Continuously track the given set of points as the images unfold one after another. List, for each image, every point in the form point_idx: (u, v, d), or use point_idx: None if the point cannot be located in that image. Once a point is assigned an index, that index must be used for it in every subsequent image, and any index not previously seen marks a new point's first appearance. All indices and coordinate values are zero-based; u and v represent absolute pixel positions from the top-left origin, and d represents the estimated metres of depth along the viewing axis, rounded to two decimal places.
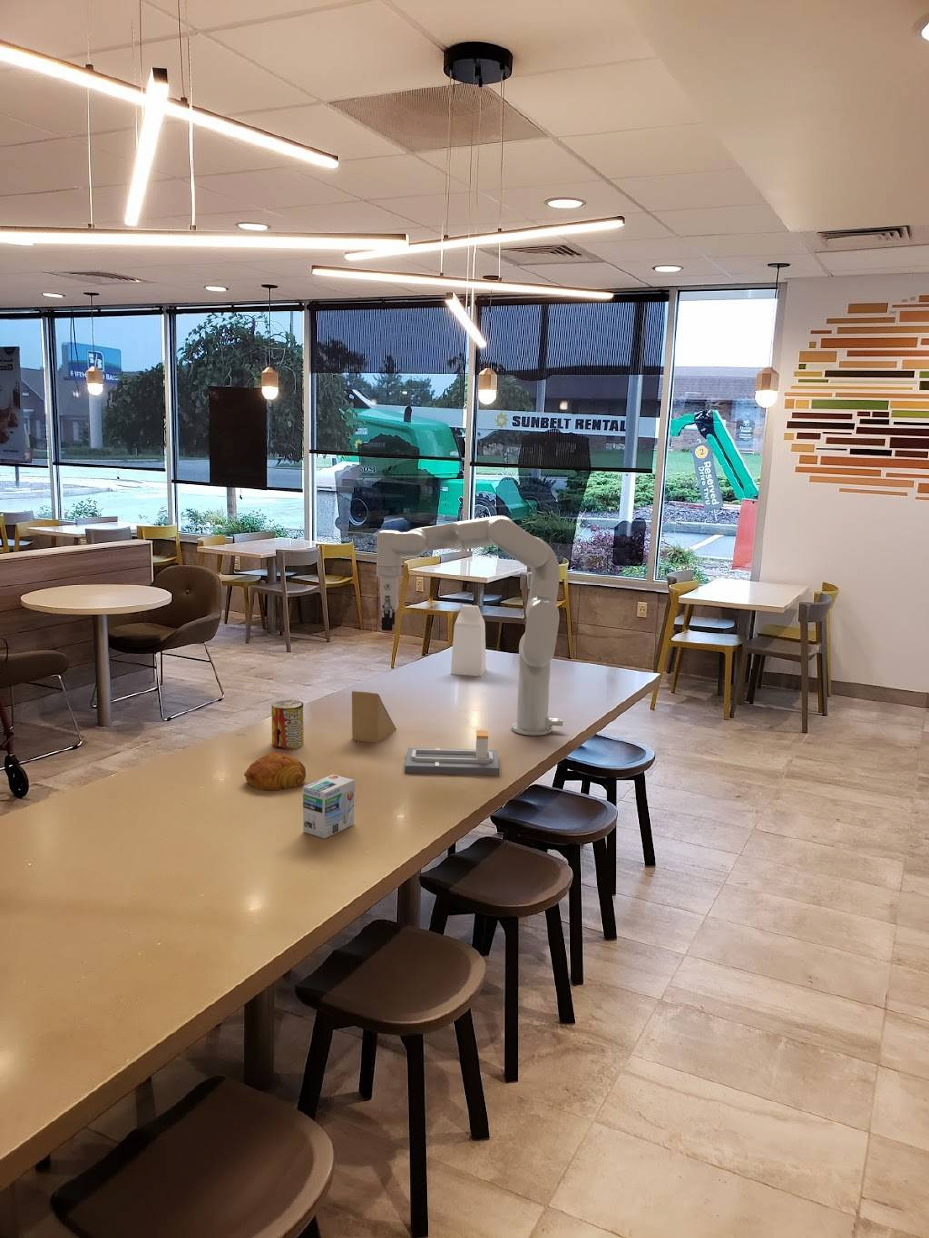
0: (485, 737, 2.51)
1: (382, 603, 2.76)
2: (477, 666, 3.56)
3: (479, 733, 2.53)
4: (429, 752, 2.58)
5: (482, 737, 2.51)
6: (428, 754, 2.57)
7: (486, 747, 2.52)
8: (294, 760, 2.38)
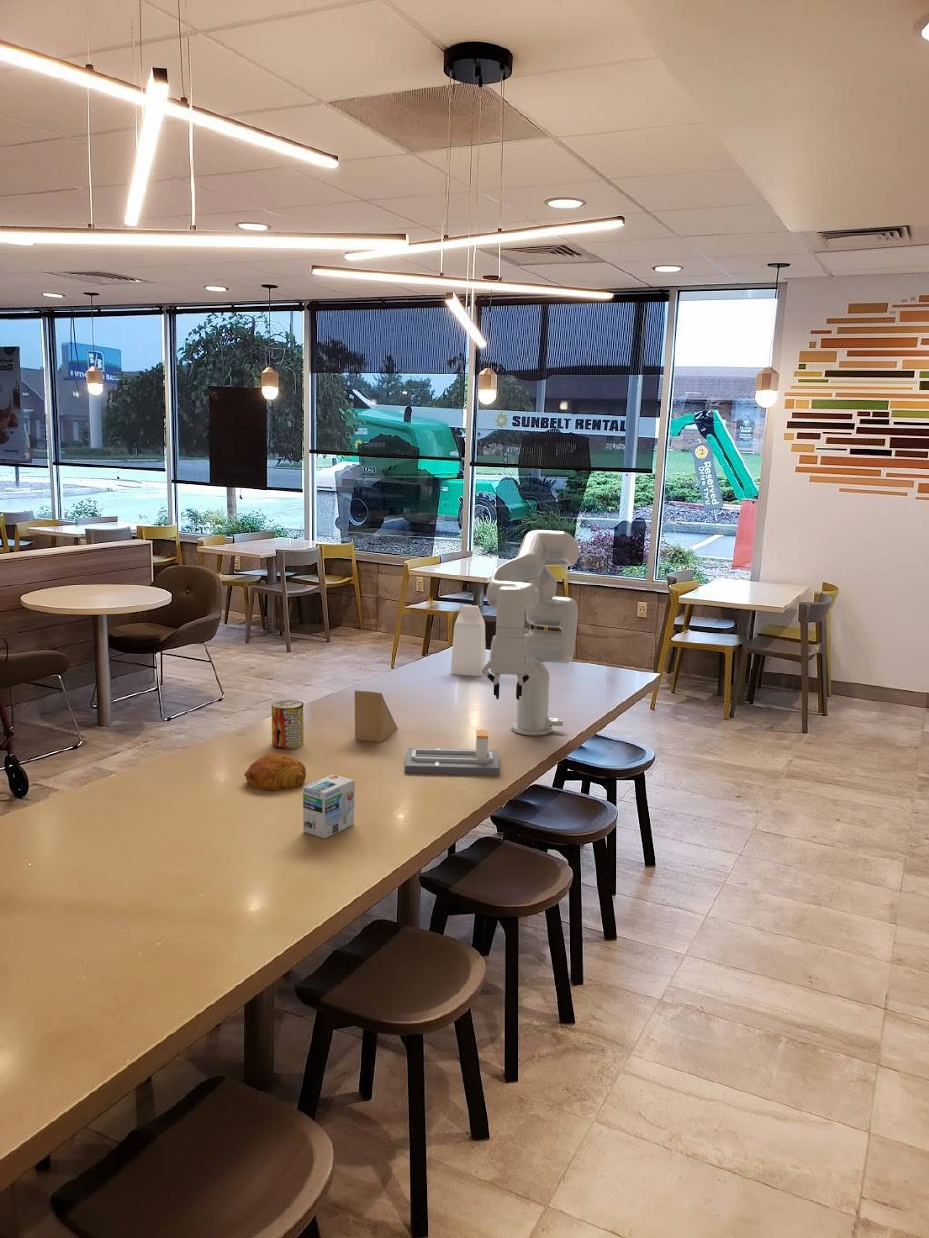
0: (485, 737, 2.51)
1: (527, 666, 2.49)
2: (477, 666, 3.56)
3: (479, 733, 2.53)
4: (429, 752, 2.58)
5: (482, 737, 2.51)
6: (428, 754, 2.57)
7: (486, 747, 2.52)
8: (294, 760, 2.38)
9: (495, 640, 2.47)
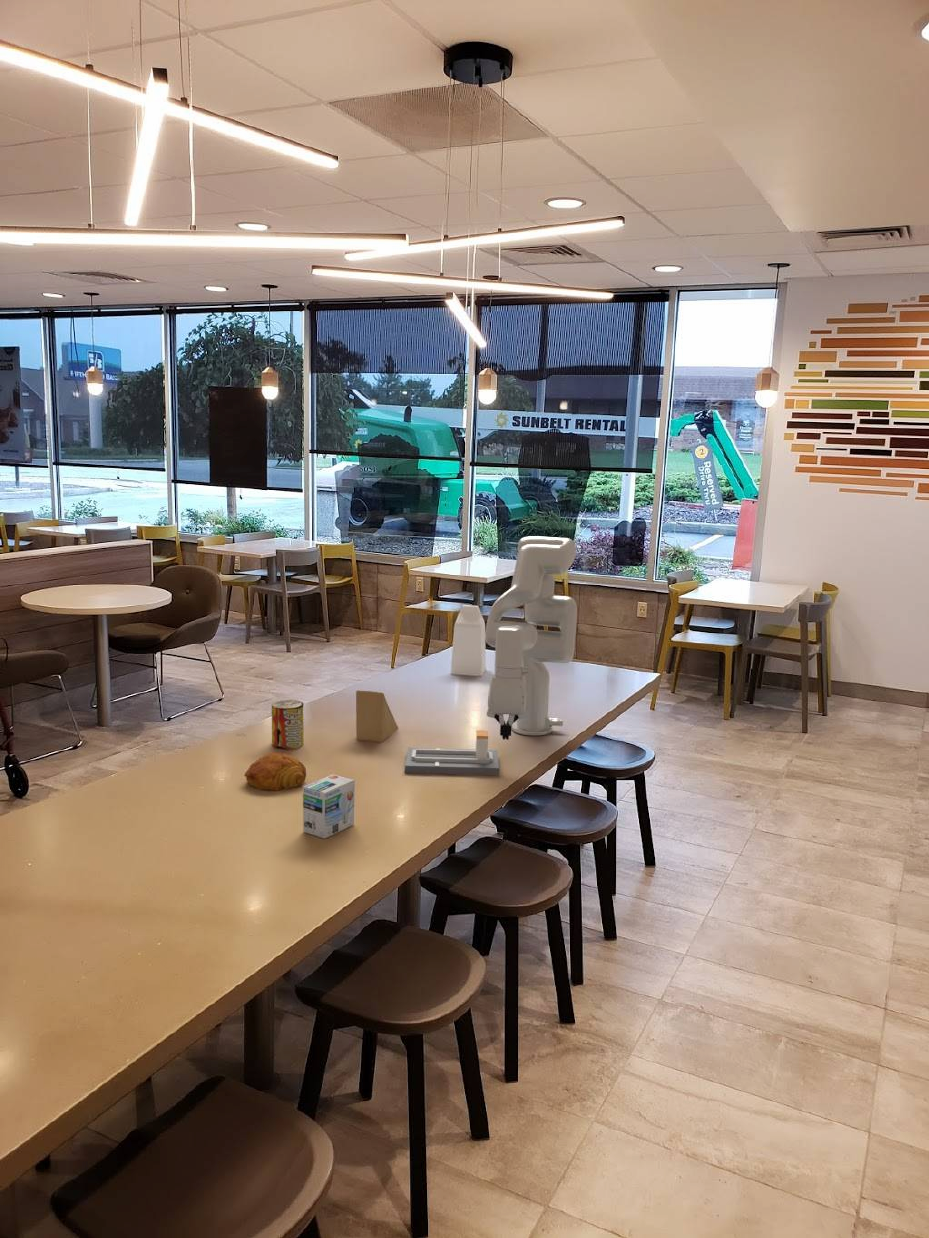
0: (485, 737, 2.51)
1: (525, 706, 2.50)
2: (477, 666, 3.56)
3: (479, 733, 2.53)
4: (429, 752, 2.58)
5: (482, 737, 2.51)
6: (428, 754, 2.57)
7: (486, 747, 2.52)
8: (294, 760, 2.38)
9: (493, 680, 2.49)
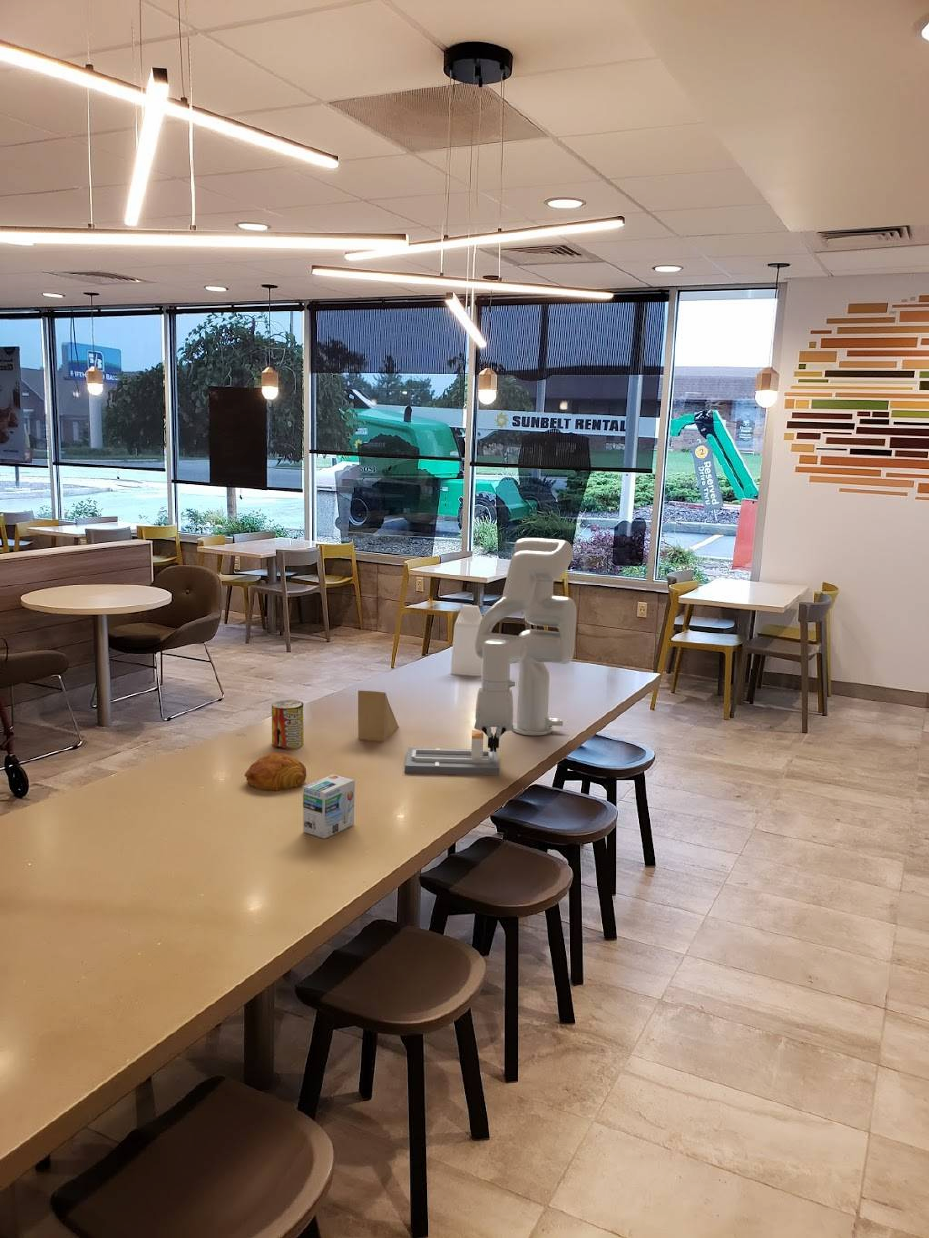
0: (480, 737, 2.51)
1: (512, 719, 2.51)
2: (477, 666, 3.56)
3: (474, 733, 2.53)
4: (429, 752, 2.58)
5: (477, 737, 2.51)
6: (428, 754, 2.57)
7: (481, 747, 2.52)
8: (295, 760, 2.38)
9: (481, 693, 2.50)
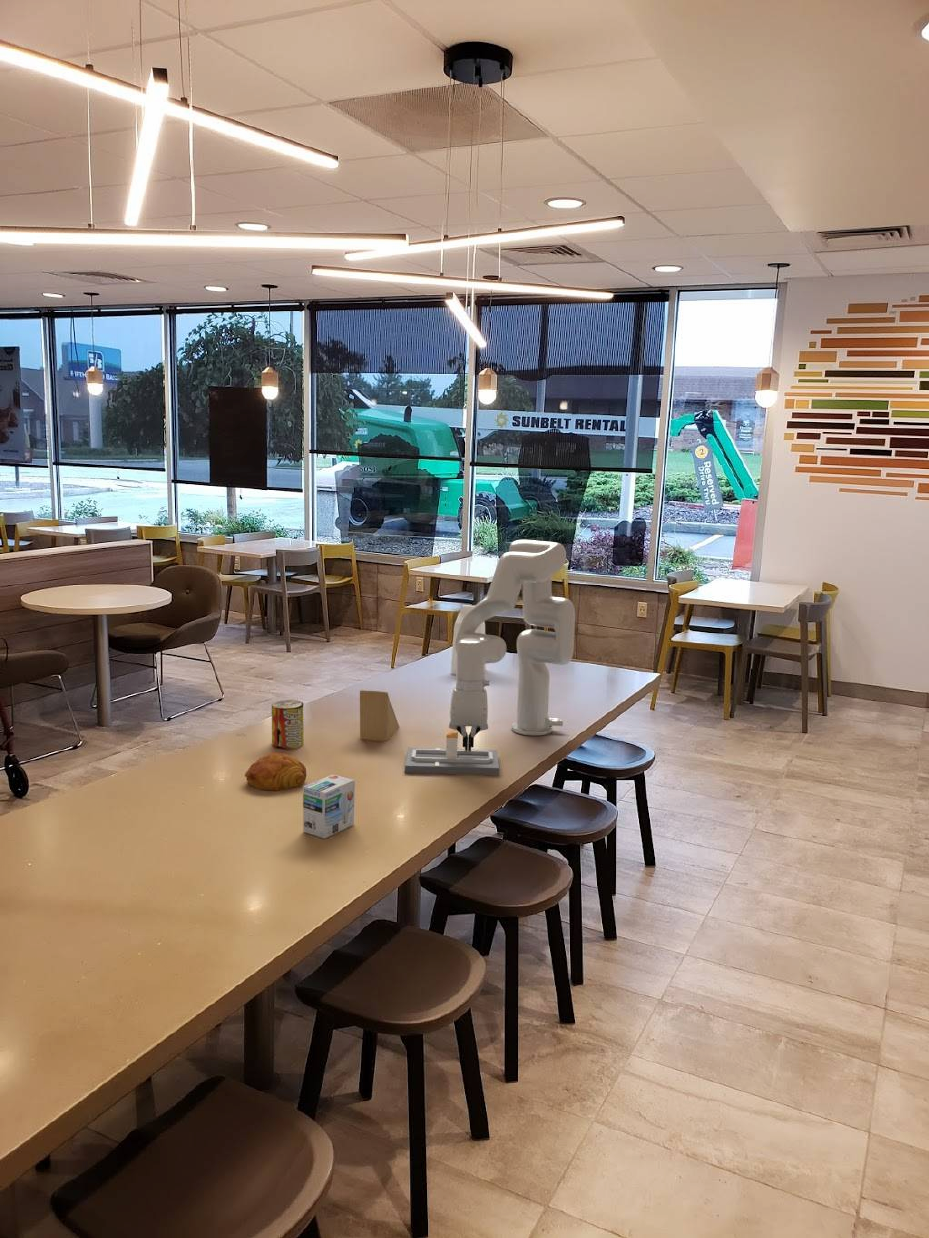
0: (455, 736, 2.51)
1: (487, 718, 2.51)
2: None
3: (449, 732, 2.53)
4: (429, 752, 2.58)
5: (452, 736, 2.51)
6: (428, 754, 2.57)
7: (456, 746, 2.52)
8: (295, 760, 2.37)
9: (455, 693, 2.49)
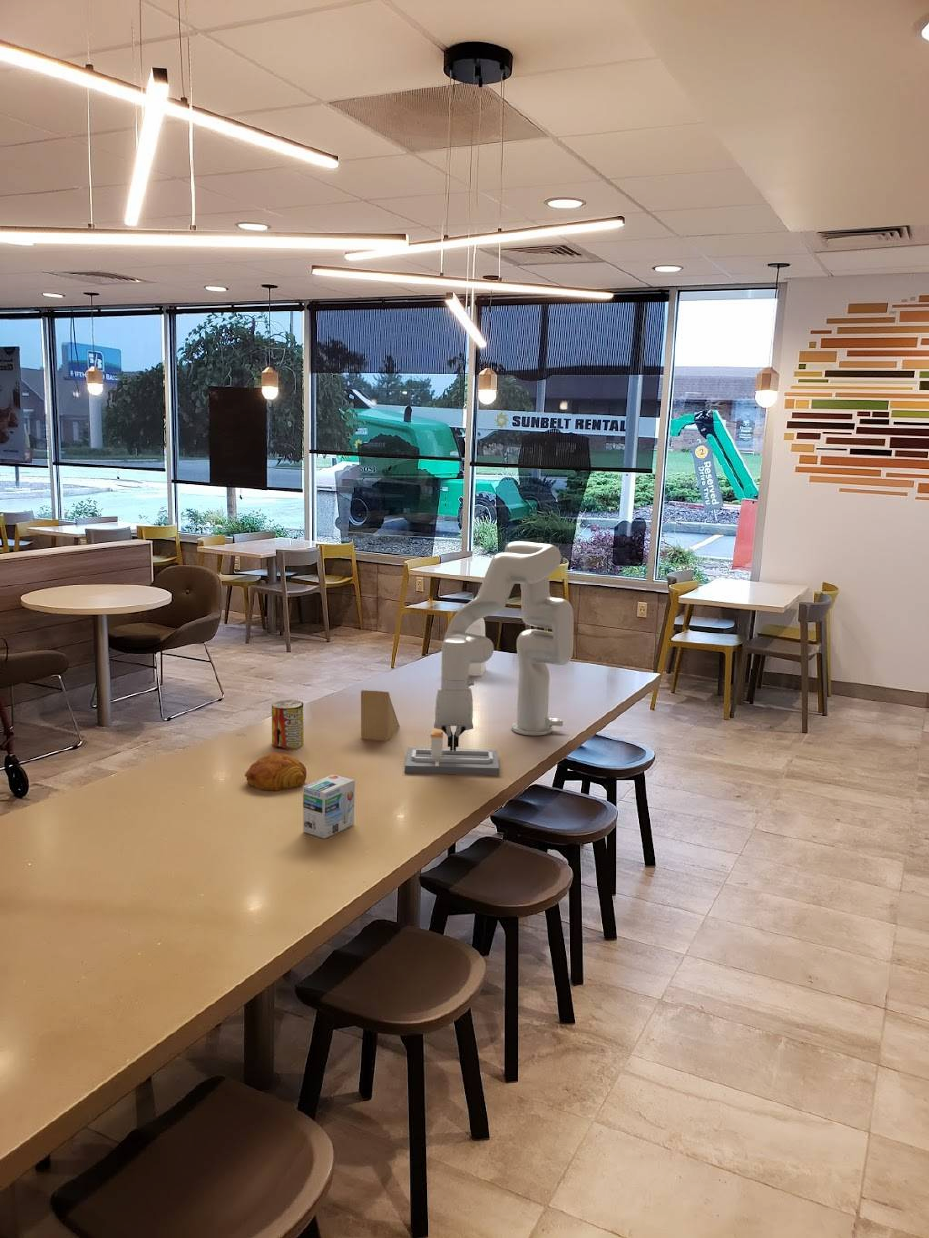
0: (440, 736, 2.51)
1: (472, 718, 2.51)
2: (477, 666, 3.56)
3: (434, 732, 2.53)
4: (429, 752, 2.58)
5: (437, 736, 2.51)
6: (428, 754, 2.57)
7: (441, 746, 2.52)
8: (295, 760, 2.37)
9: (440, 692, 2.49)
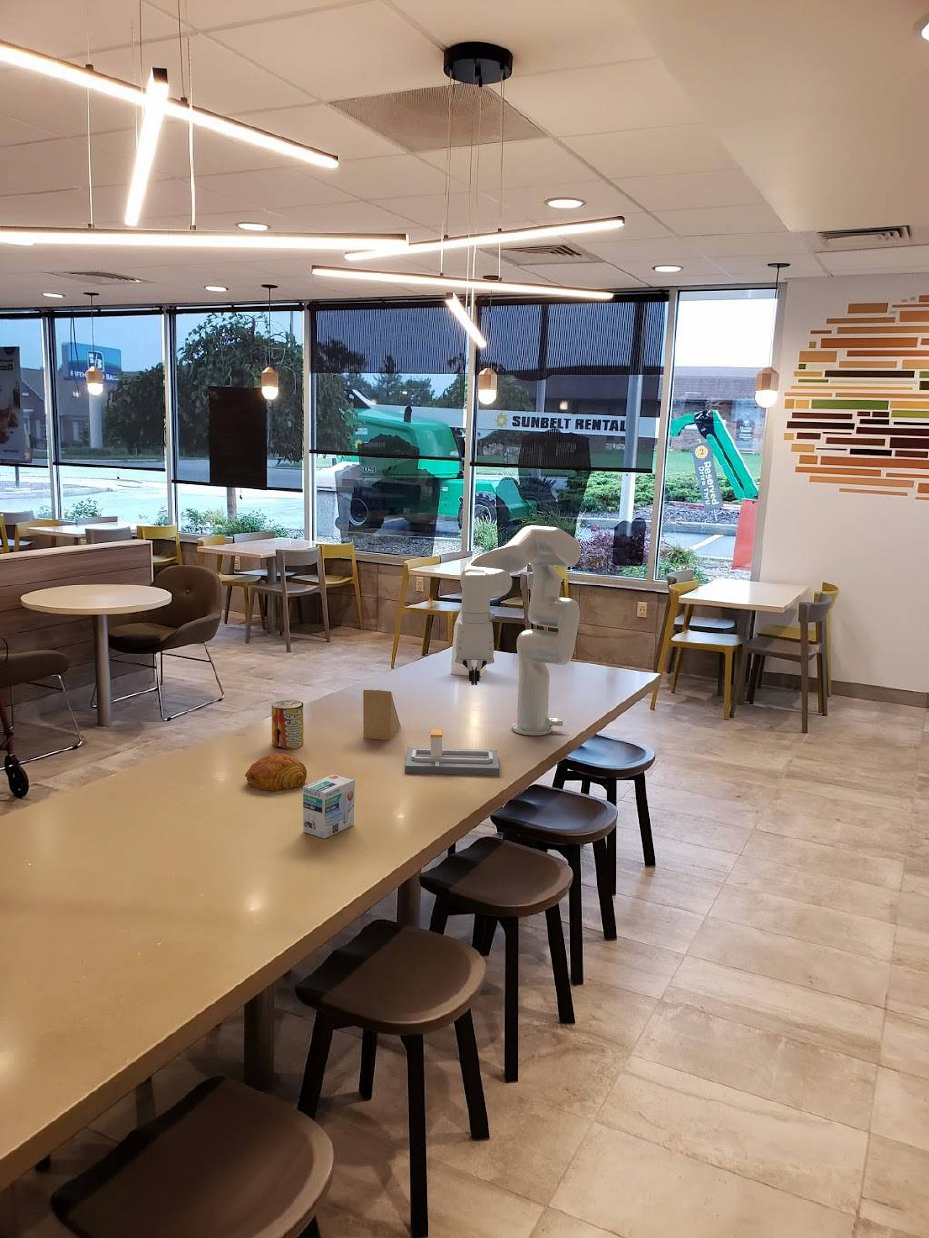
0: (439, 736, 2.51)
1: (493, 651, 2.50)
2: None
3: (433, 732, 2.53)
4: (429, 752, 2.58)
5: (436, 736, 2.51)
6: (428, 754, 2.57)
7: (440, 746, 2.52)
8: (295, 761, 2.37)
9: (461, 626, 2.48)
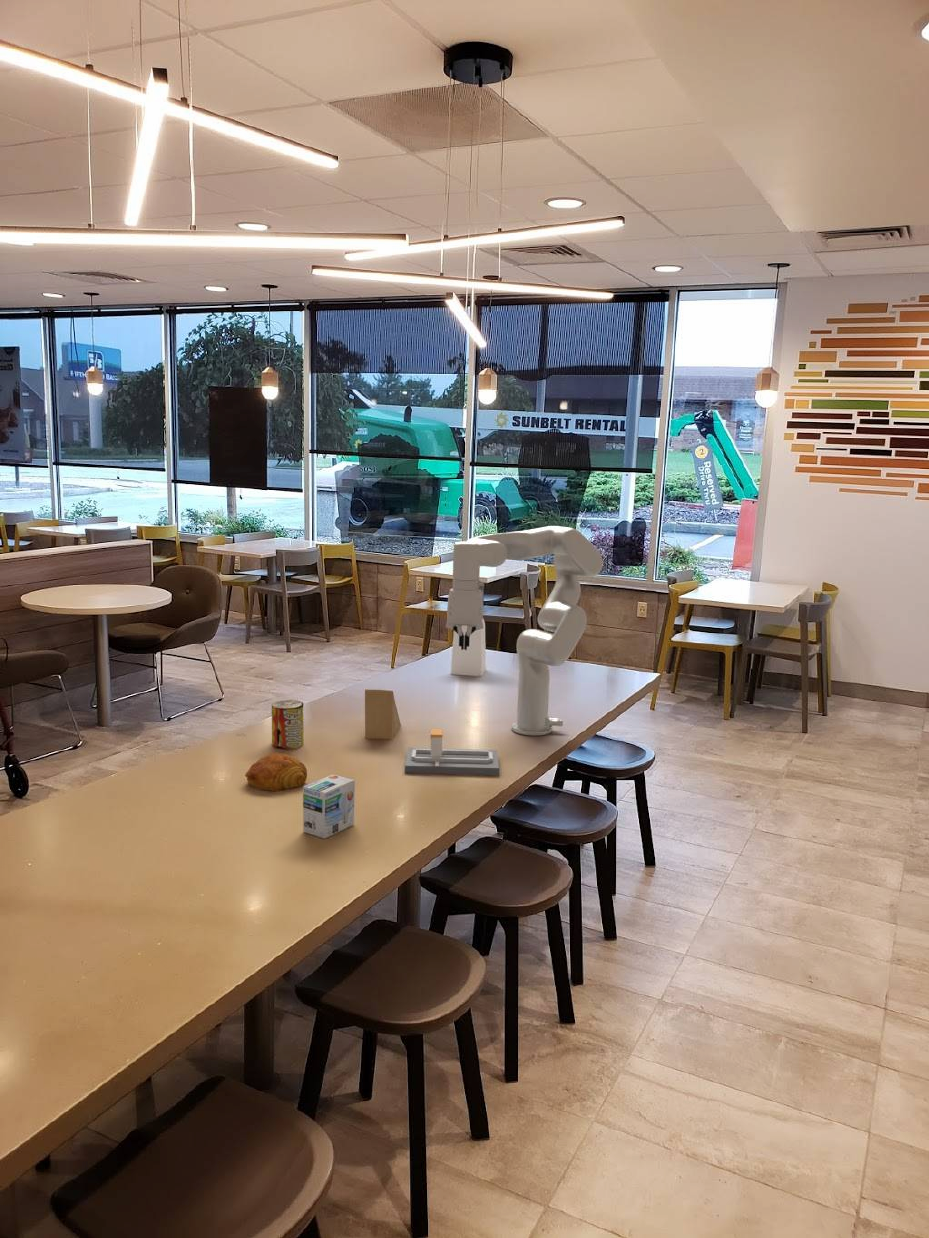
0: (439, 736, 2.51)
1: (482, 617, 2.63)
2: (477, 666, 3.56)
3: (433, 732, 2.53)
4: (429, 752, 2.58)
5: (436, 736, 2.51)
6: (428, 754, 2.57)
7: (440, 746, 2.52)
8: (295, 761, 2.37)
9: (451, 592, 2.61)
